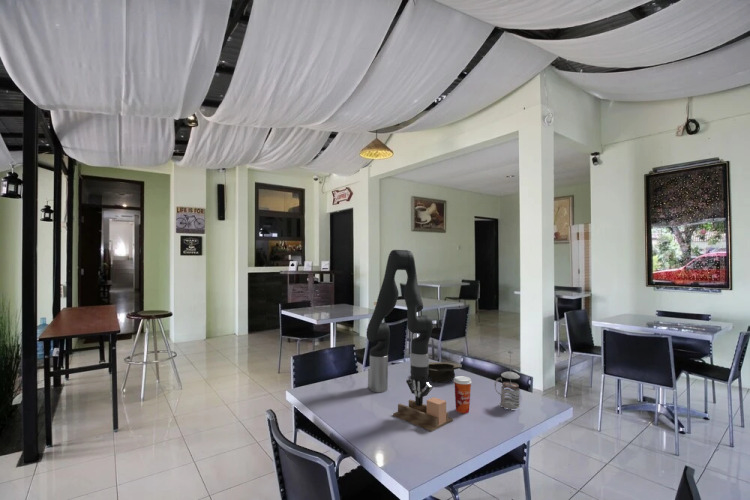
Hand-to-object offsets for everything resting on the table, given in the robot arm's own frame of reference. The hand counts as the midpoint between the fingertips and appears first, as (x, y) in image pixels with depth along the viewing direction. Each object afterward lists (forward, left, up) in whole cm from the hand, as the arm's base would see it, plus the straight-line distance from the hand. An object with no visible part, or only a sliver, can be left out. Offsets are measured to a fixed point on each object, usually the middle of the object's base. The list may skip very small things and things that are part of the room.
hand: (419, 405), depth 157 cm
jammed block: (+9, 0, -4) cm, 10 cm away
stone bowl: (-26, +49, -5) cm, 56 cm away
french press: (+20, +39, -5) cm, 44 cm away
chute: (+2, 0, -5) cm, 5 cm away
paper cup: (+9, +19, -5) cm, 21 cm away
